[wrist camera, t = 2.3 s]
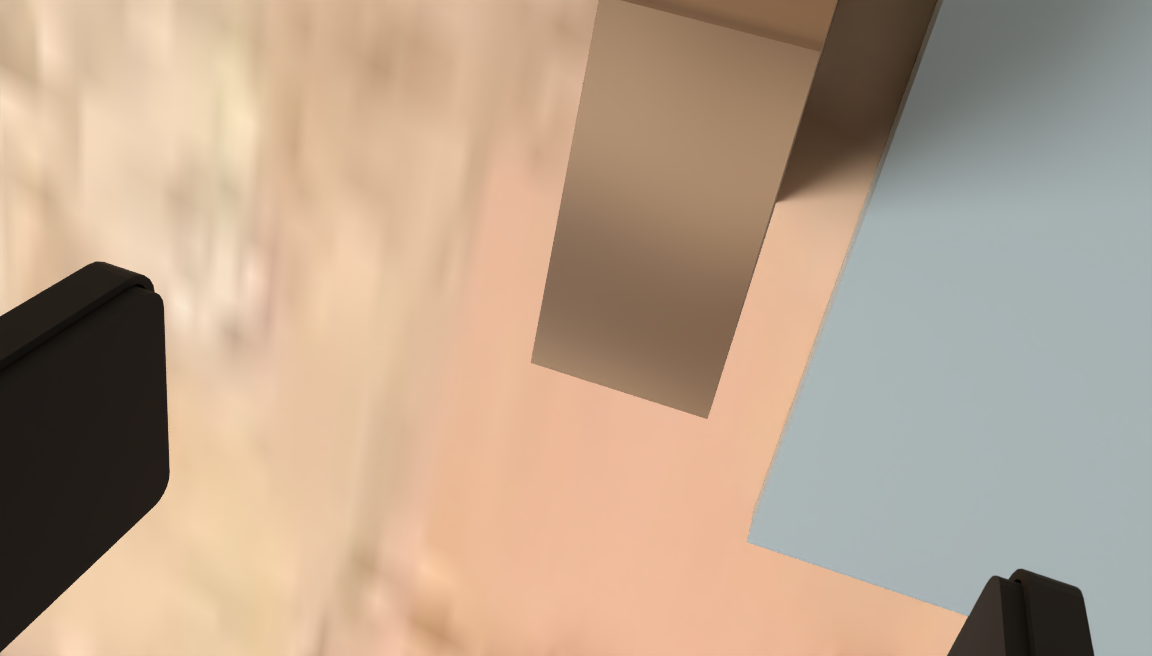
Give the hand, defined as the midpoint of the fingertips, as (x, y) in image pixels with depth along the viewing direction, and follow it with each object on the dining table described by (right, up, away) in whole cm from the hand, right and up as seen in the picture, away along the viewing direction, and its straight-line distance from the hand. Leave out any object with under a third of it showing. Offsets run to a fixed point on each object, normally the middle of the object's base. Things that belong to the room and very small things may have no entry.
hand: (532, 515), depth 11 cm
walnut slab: (+5, +9, +16) cm, 19 cm away
